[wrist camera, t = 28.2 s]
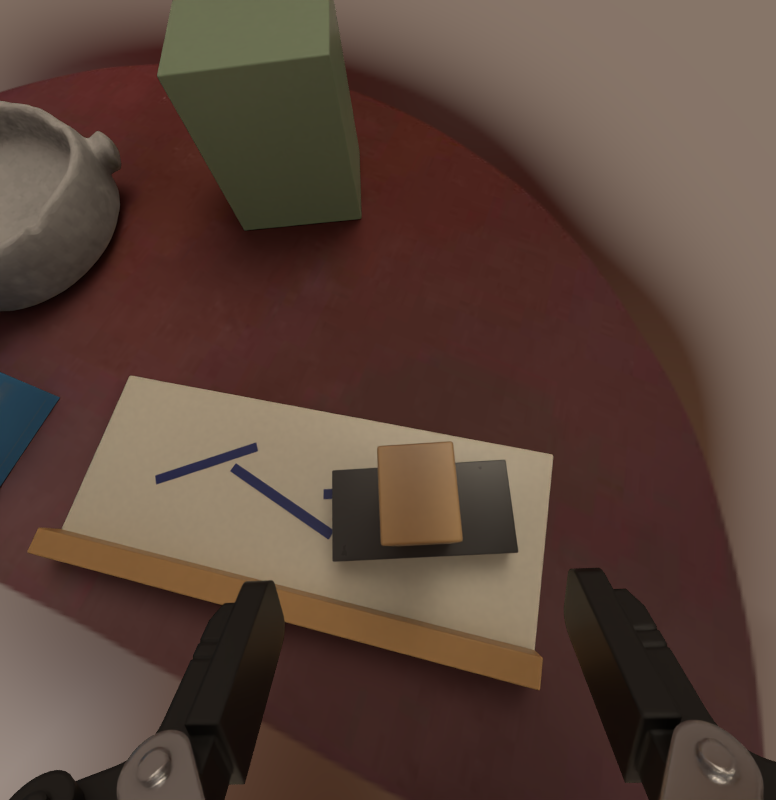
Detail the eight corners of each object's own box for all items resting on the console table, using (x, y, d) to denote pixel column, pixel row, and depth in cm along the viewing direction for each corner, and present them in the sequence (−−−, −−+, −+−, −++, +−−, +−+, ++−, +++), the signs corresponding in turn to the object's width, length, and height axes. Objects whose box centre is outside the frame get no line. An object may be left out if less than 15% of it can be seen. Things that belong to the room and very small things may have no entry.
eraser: (498, 467, 21) (542, 418, 13) (510, 552, 20) (566, 555, 12) (339, 476, 22) (289, 435, 14) (340, 560, 21) (285, 569, 12)
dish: (16, 356, 27) (-70, 315, 22) (-93, 257, 31) (-187, 203, 26) (178, 203, 30) (133, 139, 26) (61, 130, 34) (3, 62, 29)
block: (359, 152, 30) (329, -27, 21) (361, 219, 28) (329, 54, 19) (249, 164, 31) (172, -5, 22) (244, 231, 29) (156, 76, 20)
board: (549, 457, 22) (562, 447, 20) (528, 676, 19) (540, 691, 17) (137, 380, 26) (112, 364, 24) (62, 552, 23) (26, 552, 21)
